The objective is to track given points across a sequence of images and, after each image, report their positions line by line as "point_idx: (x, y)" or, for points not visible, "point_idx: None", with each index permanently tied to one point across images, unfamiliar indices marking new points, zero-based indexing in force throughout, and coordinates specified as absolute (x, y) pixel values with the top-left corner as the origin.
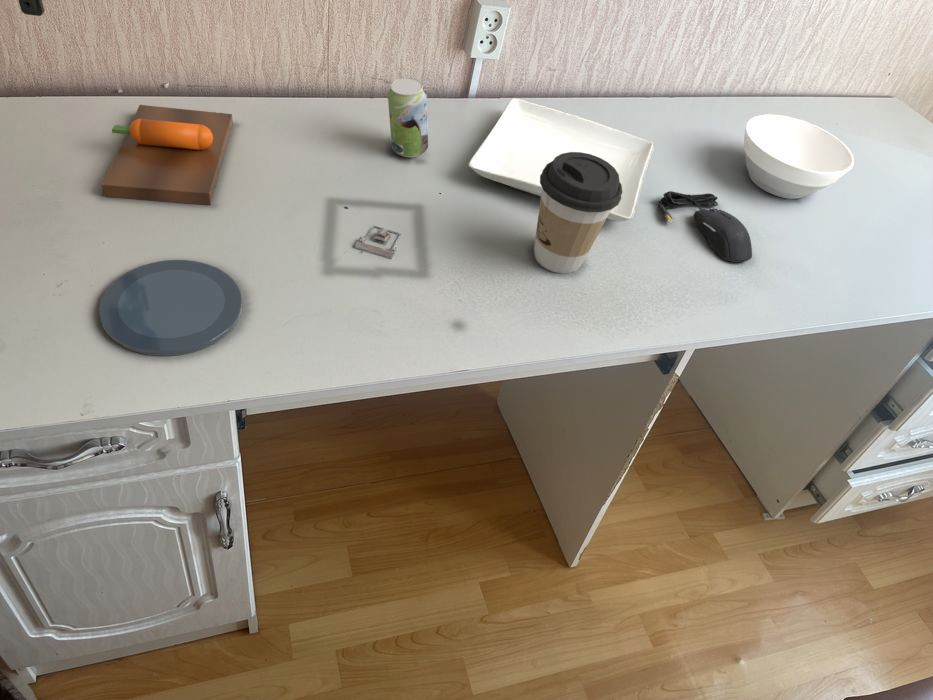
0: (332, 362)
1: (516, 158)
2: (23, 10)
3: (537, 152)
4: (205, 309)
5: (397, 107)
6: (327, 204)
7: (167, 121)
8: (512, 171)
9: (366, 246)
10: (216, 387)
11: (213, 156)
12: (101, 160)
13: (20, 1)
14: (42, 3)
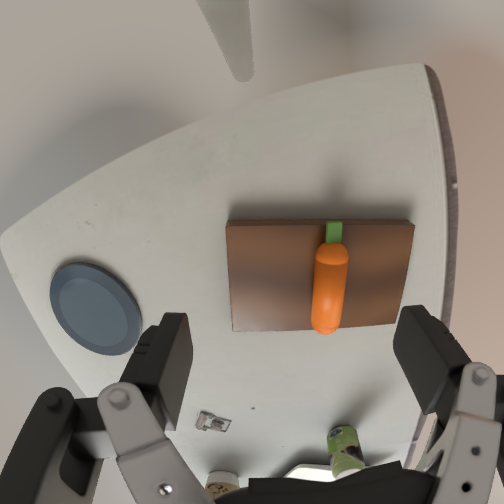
0: (93, 391)
1: (325, 471)
2: (152, 326)
3: (332, 476)
4: (94, 335)
5: (335, 464)
6: (255, 398)
7: (338, 294)
8: (308, 471)
9: (201, 418)
10: (51, 338)
11: (306, 324)
12: (305, 196)
13: (137, 346)
14: (188, 374)
